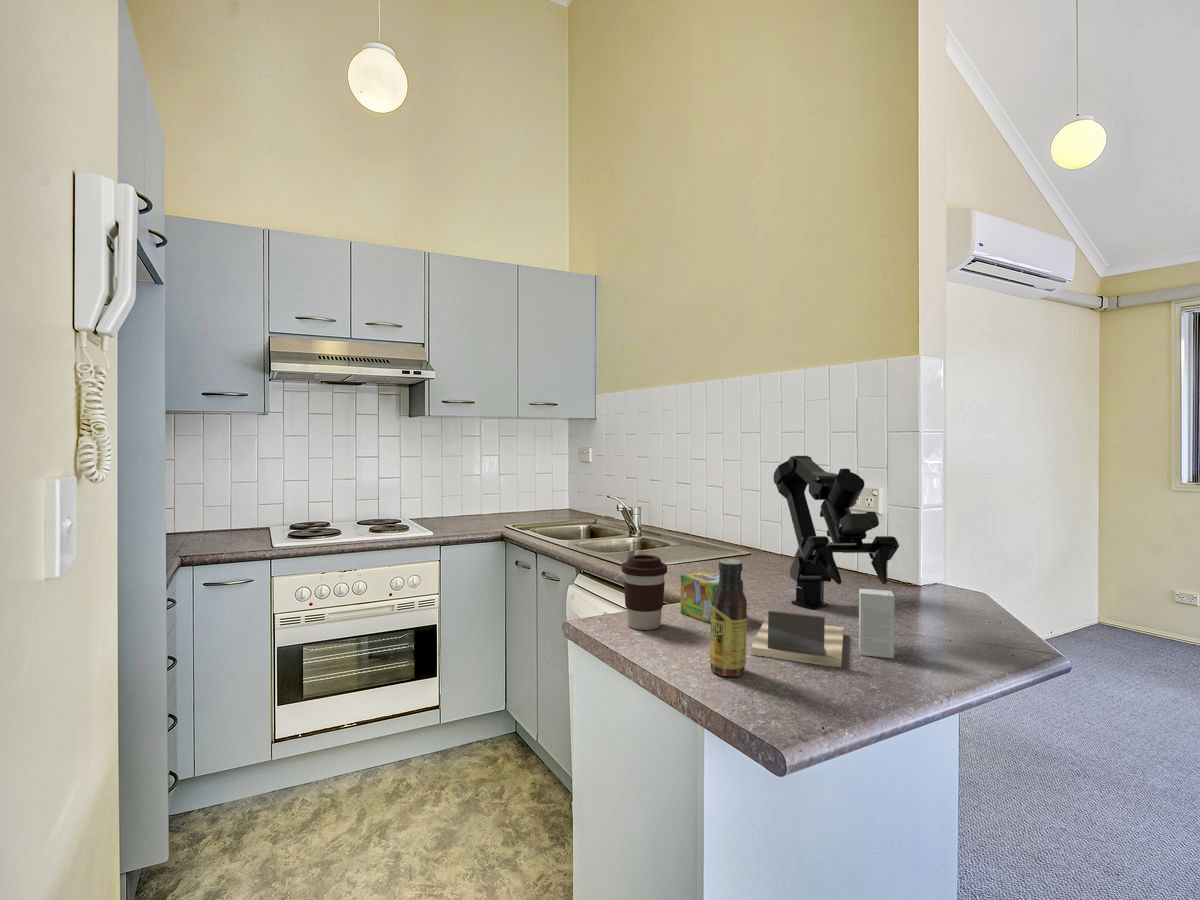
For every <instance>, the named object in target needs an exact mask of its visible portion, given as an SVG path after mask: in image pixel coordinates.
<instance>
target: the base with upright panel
mask: <svg viewBox="0 0 1200 900" xmlns="http://www.w3.org/2000/svg"><path fill="white" fill-rule="evenodd" d="M767 614H768V615H767V618H766V617H765V618H764V620H763V623H762V624H761V626H760V628H759V630H758V633H757V635H756V637H755V638H754V640H753V642H752V644H751V647H750V655H751V656H755V655H756V656H757V657H762V656H764V657H765V658H770V657H772V659H777V658H778V659H777V660H785V661H791V662H798V663H805V664H813V665H821V666H826V667H833V668H839V669H840V668H842V663H843V662H842V659H843V645H844V626H843V627H842V626H835V625H826V624H825V619H826V617H825V616H821V615H811V614H804V613H803V614H802V613H793V612H785V611H775V610H768V611H767Z"/></svg>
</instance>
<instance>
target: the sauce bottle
mask: <svg viewBox="0 0 1200 900" xmlns="http://www.w3.org/2000/svg"><path fill="white" fill-rule="evenodd" d="M718 570H719V573H718V574H719V585H718V587H717V590H716V593H715V596H714V598H713V601H712V604H711V624H710V639H709V662H710V670H711V671H712V672H713V674H716V675H718V676H720V677H726V676H728V678H729V677H730V678H732V677H733V678H735V677H740V676H743V675H744V673H745V669H746V668H745V666H746V662H747V661H746V659H747V635H748V634H747V631H748V615H747V614H748V613H747V610H748V608H747V607H748V600H747V598H746V595H745V593H744V590H743V591H742V590H741V588H740V587H741V580H742V571H743V562H742V561H741V560H739V559H734V558H722V559H720V560H719V561H718Z"/></svg>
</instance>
